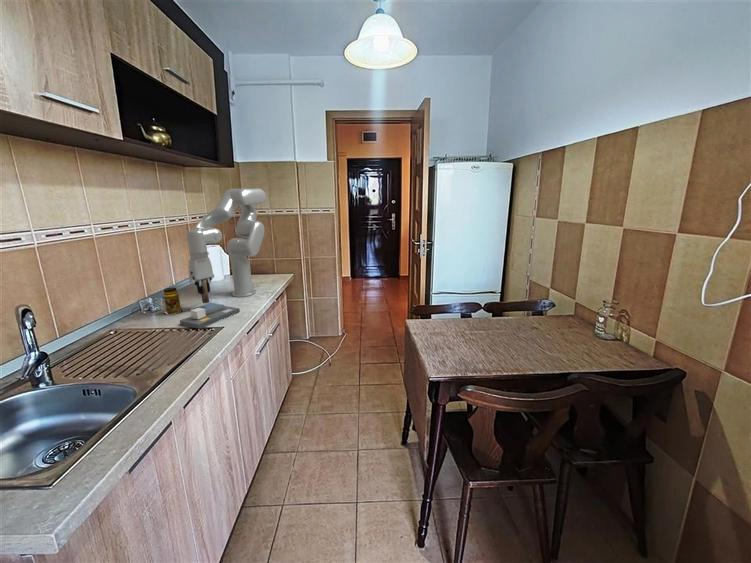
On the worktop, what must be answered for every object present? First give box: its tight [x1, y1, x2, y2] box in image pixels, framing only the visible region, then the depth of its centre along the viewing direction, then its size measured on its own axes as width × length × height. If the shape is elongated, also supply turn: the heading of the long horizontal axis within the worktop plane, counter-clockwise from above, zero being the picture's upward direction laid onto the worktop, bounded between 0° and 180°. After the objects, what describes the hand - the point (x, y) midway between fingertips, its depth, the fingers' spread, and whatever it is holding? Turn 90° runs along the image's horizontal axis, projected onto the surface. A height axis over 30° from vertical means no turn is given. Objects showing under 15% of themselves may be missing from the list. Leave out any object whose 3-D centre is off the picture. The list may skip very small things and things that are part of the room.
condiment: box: [163, 286, 186, 315], centre depth 162 cm, size 7×8×12 cm
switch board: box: [179, 304, 241, 330], centre depth 153 cm, size 22×12×2 cm, turn 155°
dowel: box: [200, 279, 210, 304], centre depth 164 cm, size 3×3×14 cm
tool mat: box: [188, 302, 225, 312], centre depth 167 cm, size 12×10×1 cm
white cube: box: [190, 307, 206, 319], centre depth 148 cm, size 4×4×4 cm
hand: (204, 292), depth 165 cm, fingers closed on dowel, 3 cm apart
